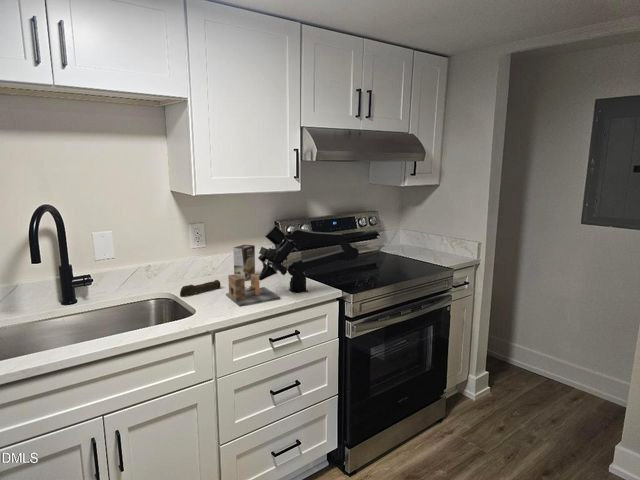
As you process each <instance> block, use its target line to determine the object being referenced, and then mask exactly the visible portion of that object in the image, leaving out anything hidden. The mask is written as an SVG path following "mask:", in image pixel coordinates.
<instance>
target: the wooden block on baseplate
mask: <svg viewBox="0 0 640 480" xmlns="http://www.w3.org/2000/svg"><path fill="white" fill-rule="evenodd" d="M245 282H246V281H245V279H244V278H243V277H241V276H240V275H238V274H234V273H233V274H228V292H226V293H225V296H226V297H227V298H228V299H230V300H231V301H232V302H233V303H234V304H236V305H237V306H238V307H240V308H241V307H244V306H251V305H256V304H260V303H267V302H272V301H277V300H281V296H279V295H278V294H277V293H275V292H273V291H272V290H270V289H268V288H267V287H265V286H263V287H260V295H257V296H256V295H254V294H253V293H251V291H248V292H245V287H246V283H245Z"/></svg>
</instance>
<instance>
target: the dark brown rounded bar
mask: <svg viewBox="0 0 640 480" xmlns="http://www.w3.org/2000/svg"><path fill="white" fill-rule="evenodd" d="M215 289H221V281H220V280H218V279H215V280H213V281H208V282H205V283H201V284H196V285H195V284H194V285H193V284H189V285H184V286H182V287H181V289H180V292H179V296H180V298H181V297H183V298H184V297H190V296H194V295H195V294H198V293H201V292H206V291H211V290H215Z"/></svg>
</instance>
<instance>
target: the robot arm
mask: <svg viewBox="0 0 640 480" xmlns="http://www.w3.org/2000/svg"><path fill="white" fill-rule="evenodd" d="M264 237H265V238H266V239H267V240H268V241H269V242H270V243H272V244H273V245H279V246H277V248H271V247H269V248H266V247H263V246H261V247H260V250H259V252H258V254H259V256H258V257H257V259H258V260H259V261H260V262H262V263H261V264H262V268H261V269H262V270H261V272H260V274H259V275H258V276H259V282H260V281H263V280H265V279H268V278H269V277H271V276H274V275H276V274H278V271H279V273H280V275H282V276H285V275H286V274H287V273H288V274H289V275H290V276H291V277H290V281H289V288H288V290H289V291H291V292H292V293H294V294H300V293H305V292H307V293H308V292H309V290H308V289H307V275H306V273H305V272H307V271H308V270H310V269H313V268H317V267H321V266H324V265H327V264H331V263H335V262H340V261H341V262H342V261H344V262H345V261H346V262H348V261H355V260H356V259H357V258H358V257H359V255H360V254H359V253H360V252H359V250H358V248H357V247H356V246H355V245H353V244H350V243H349V241H347V239H346V238H345V236H344V235H343V234H342V233H340V232H337V233H335V232H323V231H322V232H320V231H312V230H311V231H310V230H307V229H304V228H301V227H300V228H299V227H294V228H293V229H292V230H289V231H283V230H282V229H280V228H279V226H278V225H277V224H275V225H273V227H272V228H270V229H269V230H268V231H267V233H266V234H265V235H264ZM307 242H320V243H321V242H323V243H337V244H338V245H339V246H340V248H339V249H337V250H336V251H332V252H329V253H325V254H322V255H319V256H314V257H310V258H307V259H302V256H298V257H297V258H296V257H295V258H291V260H289V261H288V256H289V255H290V254H291V253H292V252H293V250H294V251H300V248H299V244H302V243H307ZM284 261H288V262H287V264H286V266H284V265H283V263H284Z"/></svg>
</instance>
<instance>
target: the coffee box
mask: <svg viewBox="0 0 640 480" xmlns="http://www.w3.org/2000/svg"><path fill="white" fill-rule="evenodd" d="M255 247H256V246H255V244H254V245H252V244H242V245H238V246H234V247H233V275H234V274H238V275H240V276H241V277H243V278H244V279H245V282H246V281H249V280H251V274H256V248H255ZM248 279H249V280H248Z"/></svg>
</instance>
